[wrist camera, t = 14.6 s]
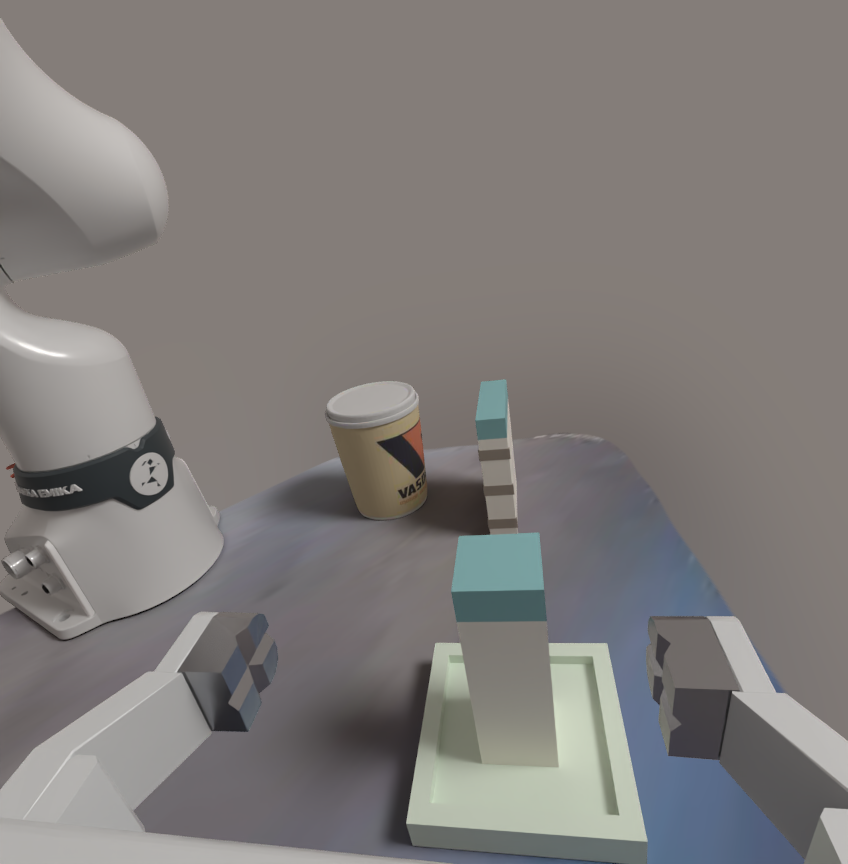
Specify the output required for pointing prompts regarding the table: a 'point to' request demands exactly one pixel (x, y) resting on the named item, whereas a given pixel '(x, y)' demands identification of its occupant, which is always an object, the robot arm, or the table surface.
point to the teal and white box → (497, 457)
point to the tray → (529, 770)
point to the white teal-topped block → (506, 647)
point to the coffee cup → (380, 447)
